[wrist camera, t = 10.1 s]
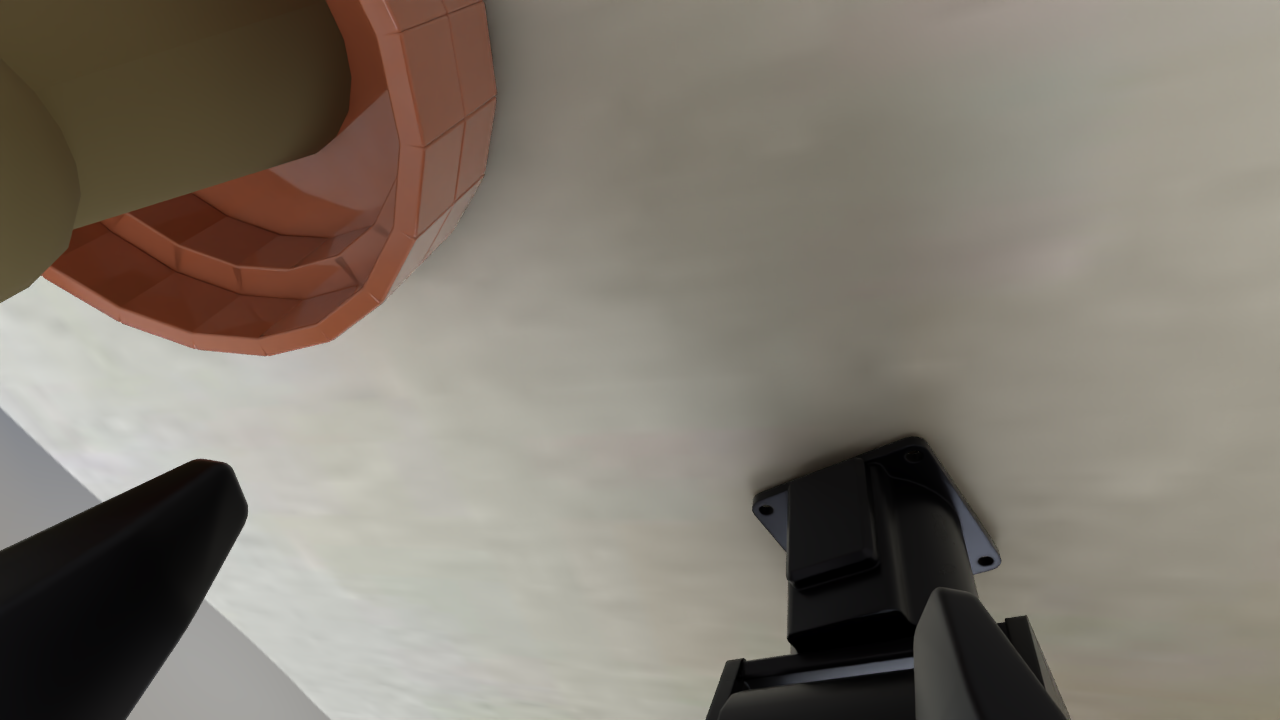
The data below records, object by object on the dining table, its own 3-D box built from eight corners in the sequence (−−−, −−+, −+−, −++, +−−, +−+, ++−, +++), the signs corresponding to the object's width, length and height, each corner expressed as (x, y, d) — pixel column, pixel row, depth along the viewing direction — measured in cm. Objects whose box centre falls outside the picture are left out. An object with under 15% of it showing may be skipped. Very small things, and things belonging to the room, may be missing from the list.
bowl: (609, 109, 18) (555, 173, 14) (312, 338, 25) (219, 426, 21) (156, -514, 13) (-122, -683, 9) (-65, -19, 20) (-283, 7, 16)
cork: (205, 166, 21) (-226, 375, 12) (95, -64, 18) (-603, -6, 9) (381, 154, 20) (40, 378, 11) (298, -98, 16) (-289, -70, 8)
